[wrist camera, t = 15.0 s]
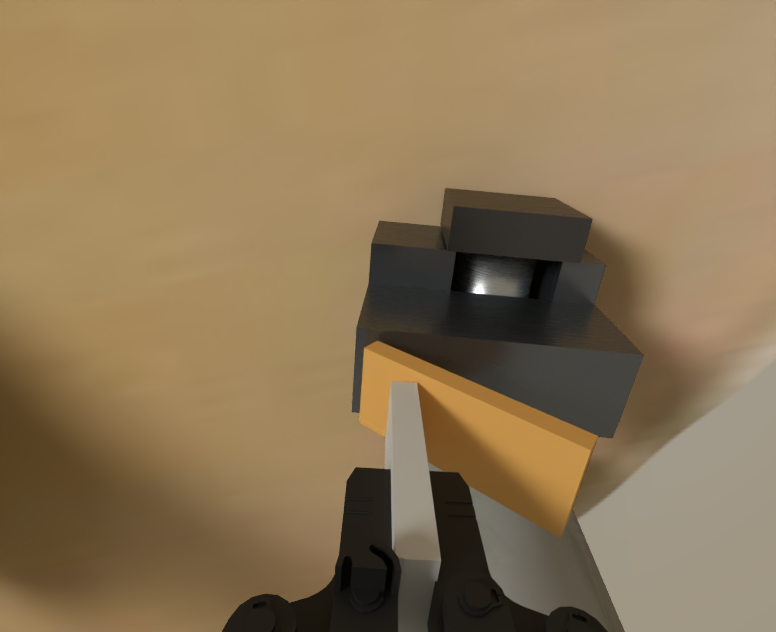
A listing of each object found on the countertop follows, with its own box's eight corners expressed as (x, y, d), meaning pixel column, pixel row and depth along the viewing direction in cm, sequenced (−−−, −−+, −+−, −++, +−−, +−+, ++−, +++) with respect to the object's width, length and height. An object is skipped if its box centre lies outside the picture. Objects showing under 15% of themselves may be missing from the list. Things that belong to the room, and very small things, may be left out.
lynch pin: (422, 361, 28) (424, 413, 23) (445, 188, 24) (453, 206, 19) (514, 370, 28) (535, 424, 23) (554, 198, 24) (592, 219, 19)
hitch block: (372, 315, 27) (351, 411, 18) (379, 220, 25) (359, 278, 16) (546, 332, 27) (612, 438, 18) (570, 238, 25) (661, 306, 16)
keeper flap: (371, 413, 18) (358, 422, 17) (377, 340, 16) (363, 347, 16) (567, 521, 14) (560, 538, 13) (598, 436, 12) (591, 450, 12)
